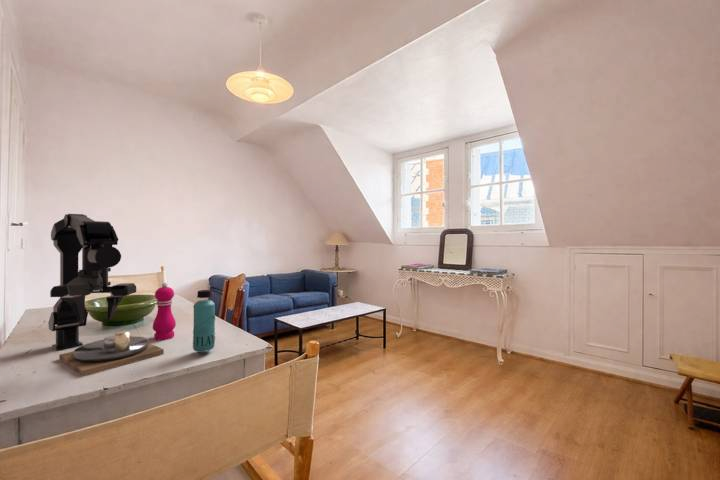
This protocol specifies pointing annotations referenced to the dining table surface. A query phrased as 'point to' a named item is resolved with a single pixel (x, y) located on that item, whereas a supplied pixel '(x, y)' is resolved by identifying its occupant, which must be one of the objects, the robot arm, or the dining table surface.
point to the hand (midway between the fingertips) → (95, 320)
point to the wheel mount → (95, 367)
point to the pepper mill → (164, 314)
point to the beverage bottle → (204, 322)
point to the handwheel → (111, 348)
